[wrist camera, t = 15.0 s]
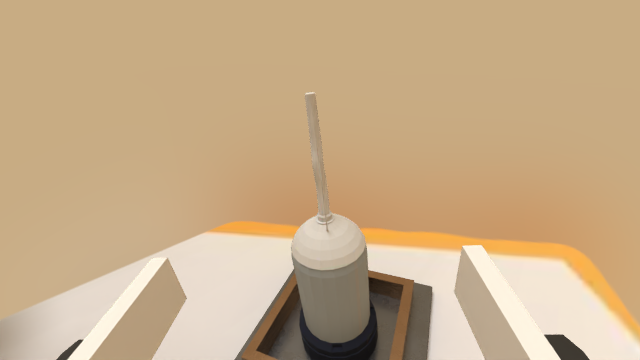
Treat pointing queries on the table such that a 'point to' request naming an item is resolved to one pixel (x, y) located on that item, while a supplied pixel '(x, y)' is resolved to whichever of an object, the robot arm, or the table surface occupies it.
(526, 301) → the table surface
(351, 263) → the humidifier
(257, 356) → the fitting nest
